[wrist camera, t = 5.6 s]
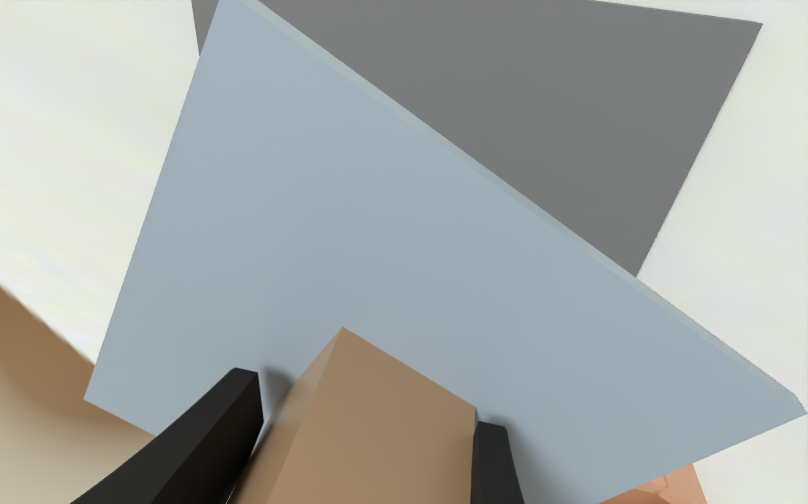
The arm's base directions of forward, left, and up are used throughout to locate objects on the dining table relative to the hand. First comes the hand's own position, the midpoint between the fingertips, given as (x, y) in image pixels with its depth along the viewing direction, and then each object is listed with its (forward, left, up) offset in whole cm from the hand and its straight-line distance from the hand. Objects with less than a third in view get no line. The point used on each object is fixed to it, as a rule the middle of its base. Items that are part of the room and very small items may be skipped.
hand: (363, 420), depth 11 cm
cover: (0, 0, -1) cm, 1 cm away
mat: (0, 0, -10) cm, 10 cm away
